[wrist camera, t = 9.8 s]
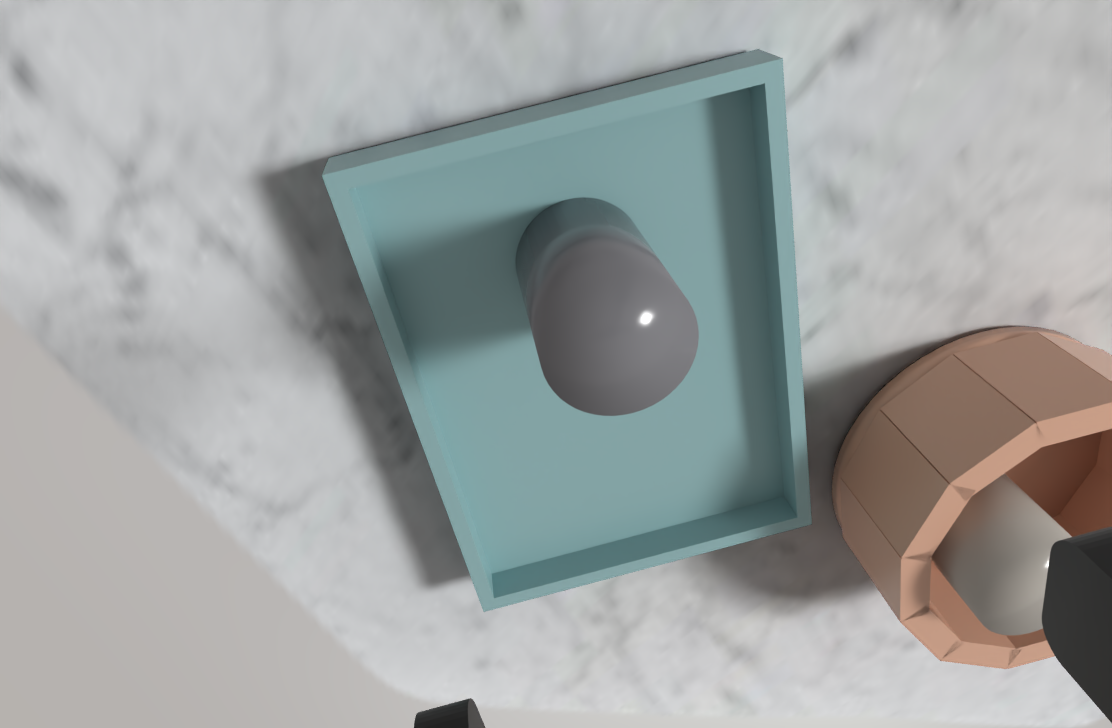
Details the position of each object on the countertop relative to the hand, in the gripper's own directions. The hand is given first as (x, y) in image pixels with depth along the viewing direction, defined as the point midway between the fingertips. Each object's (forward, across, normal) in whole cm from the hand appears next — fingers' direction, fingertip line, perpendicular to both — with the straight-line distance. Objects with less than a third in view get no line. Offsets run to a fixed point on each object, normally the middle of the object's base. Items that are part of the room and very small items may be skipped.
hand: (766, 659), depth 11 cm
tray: (+15, 0, +3) cm, 15 cm away
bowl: (+15, -13, +12) cm, 23 cm away
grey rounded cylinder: (+15, 0, 0) cm, 15 cm away
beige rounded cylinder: (+14, -11, +12) cm, 22 cm away
